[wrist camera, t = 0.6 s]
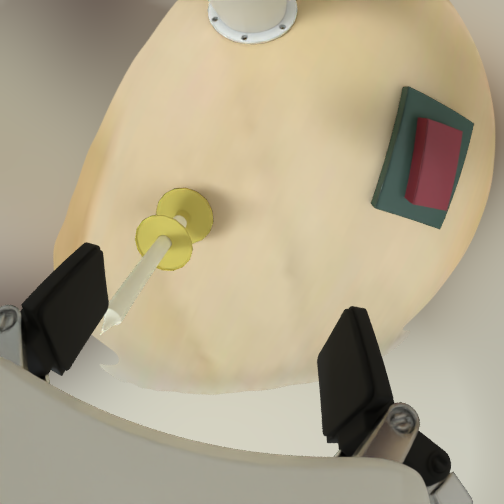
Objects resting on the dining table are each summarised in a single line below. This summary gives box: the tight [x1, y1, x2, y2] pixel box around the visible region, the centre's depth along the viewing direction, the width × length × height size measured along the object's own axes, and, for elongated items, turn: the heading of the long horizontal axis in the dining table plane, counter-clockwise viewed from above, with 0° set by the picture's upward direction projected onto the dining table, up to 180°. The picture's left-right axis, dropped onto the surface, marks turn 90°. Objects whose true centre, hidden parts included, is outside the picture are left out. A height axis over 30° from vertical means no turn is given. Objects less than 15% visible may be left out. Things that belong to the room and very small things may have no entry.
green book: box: [371, 86, 474, 229], centre depth 35 cm, size 20×14×2 cm
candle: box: [100, 188, 213, 335], centre depth 33 cm, size 10×10×27 cm
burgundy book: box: [405, 117, 463, 211], centre depth 32 cm, size 13×7×3 cm, turn 177°
